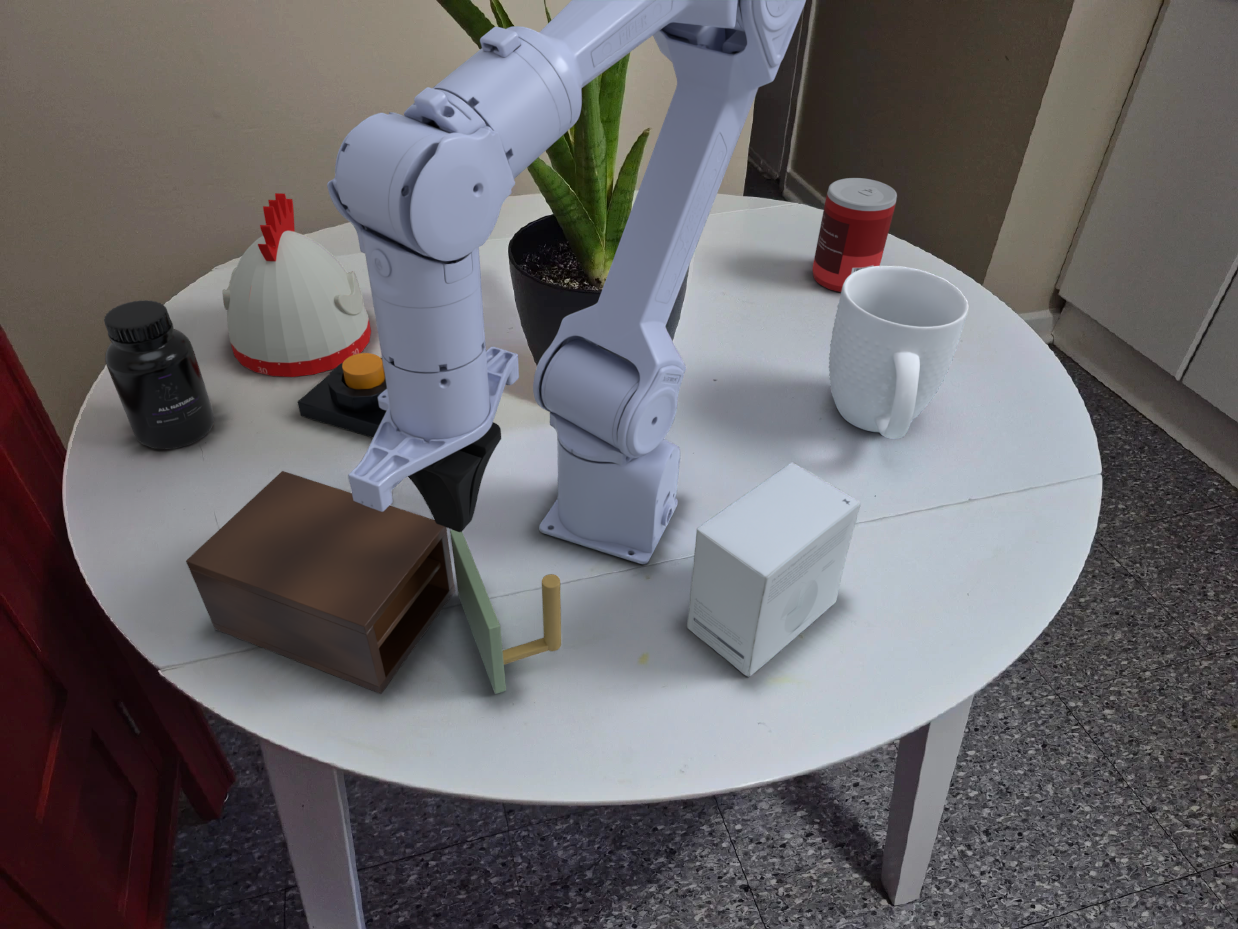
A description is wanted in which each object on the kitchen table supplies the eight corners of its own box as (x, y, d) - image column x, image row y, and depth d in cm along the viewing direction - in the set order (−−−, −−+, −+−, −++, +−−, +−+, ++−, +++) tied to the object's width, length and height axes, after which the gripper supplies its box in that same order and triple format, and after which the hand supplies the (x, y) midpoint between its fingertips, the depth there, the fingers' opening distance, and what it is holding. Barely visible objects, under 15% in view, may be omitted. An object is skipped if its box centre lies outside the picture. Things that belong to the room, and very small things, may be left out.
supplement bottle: (190, 457, 76) (146, 341, 69) (119, 445, 77) (68, 330, 69) (231, 411, 82) (195, 298, 74) (165, 400, 82) (122, 288, 75)
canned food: (884, 274, 106) (906, 187, 99) (861, 301, 101) (883, 211, 94) (825, 256, 109) (843, 171, 102) (801, 282, 104) (817, 194, 97)
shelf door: (524, 576, 67) (519, 497, 61) (567, 671, 60) (566, 591, 55) (458, 595, 65) (447, 515, 60) (495, 695, 59) (486, 615, 53)
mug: (947, 481, 77) (993, 358, 69) (823, 470, 78) (854, 347, 70) (919, 384, 89) (956, 269, 80) (811, 375, 89) (836, 259, 81)
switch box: (437, 396, 84) (434, 366, 82) (392, 443, 79) (386, 413, 76) (350, 371, 87) (344, 342, 85) (300, 416, 81) (292, 385, 79)
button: (392, 373, 82) (390, 358, 81) (370, 394, 79) (367, 378, 78) (360, 364, 83) (357, 349, 81) (337, 384, 80) (334, 369, 79)
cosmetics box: (770, 556, 70) (792, 457, 63) (836, 603, 66) (866, 503, 59) (680, 625, 64) (693, 524, 57) (747, 680, 61) (769, 579, 54)
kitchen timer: (384, 307, 97) (362, 176, 87) (352, 379, 86) (324, 239, 76) (258, 302, 96) (223, 170, 87) (212, 373, 86) (165, 232, 76)
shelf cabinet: (455, 590, 66) (446, 523, 61) (381, 694, 59) (364, 626, 54) (302, 538, 70) (282, 470, 65) (214, 629, 62) (185, 560, 58)
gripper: (446, 272, 54) (463, 442, 63) (285, 391, 44) (331, 573, 53) (545, 300, 52) (548, 471, 61) (400, 431, 42) (428, 614, 51)
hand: (453, 521), depth 57 cm, fingers closed
